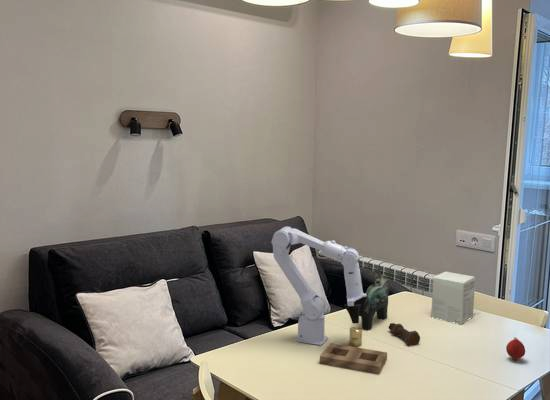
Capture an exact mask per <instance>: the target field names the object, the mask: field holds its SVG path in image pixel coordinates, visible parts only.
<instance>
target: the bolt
mask: <svg viewBox="0 0 550 400" xmlns="http://www.w3.org/2000/svg"><path fill="white" fill-rule="evenodd" d="M388 329H389V331H391V332H392V334H393V336H395V337H401V338H402V339H404V340H405V342H406V344H407V345H408V346H409V347H415V346H418V345H419V343H420V342H421V336H420V334H419V332H418V331H416V330H411V331H409V330H407V329H406V328H405V327H404V326H403V324H401V323H395V322H394V323H393V322H392V323H389V325H388Z"/></svg>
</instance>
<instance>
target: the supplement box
mask: <svg viewBox="0 0 550 400" xmlns="http://www.w3.org/2000/svg"><path fill="white" fill-rule="evenodd" d="M475 283H476V276H473V275H468V274H461V273H455V272H451V271H444V272H441V273H439V274H437V275H435V276H433V277H432V293H431V294H432V296H431V297H432V298H431V314H430V315H431V316H430V317H431V318H432V317H434V318H433V319H436V318H438V319H437V320H440V319H442V320H441V321H444V320H446V321H445V322H448V321H451V322H450V323H452V322H455V323H454V324H456V323H459V324H458V325H461V324H462V323H463V324H465V323H466V322H468V321H469V320H470V319H469V318H471V317H472V316H473V317H474V306H475V305H474V303H475V287H476V286H475V285H476V284H475ZM473 317H472V318H473ZM472 318H471V319H472ZM468 319H469V320H468ZM467 320H468V321H467ZM465 321H466V322H465ZM464 322H465V323H464ZM463 324H462V325H463Z"/></svg>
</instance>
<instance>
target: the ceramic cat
mask: <svg viewBox="0 0 550 400" xmlns="http://www.w3.org/2000/svg"><path fill="white" fill-rule="evenodd" d="M378 276H379V278H377V277H378ZM390 289H391V283H390V279H387V278H384V276H383V275H381V274H379V273H376V275H375V279H374V284H371V285H369V286H368V288H367V290H365V291H366V292H365V293H364V294H366V295H367V298H366V302H365V309H364V316H360V320H361V329H362V330H366V331H370V330H372V328H373V321H374V318H375V316H376V319H377V320H381V321H385V320H386V319H387V318H388V309H389V308H388V307H389V292H390Z"/></svg>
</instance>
